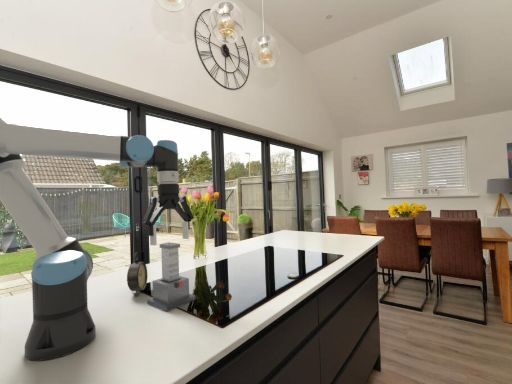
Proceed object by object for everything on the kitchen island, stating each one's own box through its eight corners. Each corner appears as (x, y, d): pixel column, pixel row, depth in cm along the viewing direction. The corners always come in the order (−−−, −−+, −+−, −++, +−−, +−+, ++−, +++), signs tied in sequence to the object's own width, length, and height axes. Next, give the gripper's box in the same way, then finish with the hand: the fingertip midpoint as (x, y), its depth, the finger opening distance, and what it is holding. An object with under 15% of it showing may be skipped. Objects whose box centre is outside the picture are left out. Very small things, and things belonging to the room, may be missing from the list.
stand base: (166, 311, 87) (166, 287, 87) (147, 303, 95) (146, 281, 95) (195, 299, 97) (194, 277, 97) (175, 293, 104) (174, 272, 104)
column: (171, 301, 92) (169, 246, 92) (160, 297, 96) (159, 244, 96) (181, 296, 96) (180, 243, 96) (171, 293, 100) (169, 242, 100)
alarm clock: (139, 297, 101) (138, 255, 101) (124, 298, 101) (123, 255, 101) (148, 287, 112) (147, 249, 112) (135, 288, 112) (134, 249, 112)
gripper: (141, 182, 84) (143, 249, 84) (201, 183, 104) (203, 237, 104) (129, 183, 89) (131, 247, 89) (189, 184, 109) (191, 235, 108)
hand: (170, 241), depth 96 cm, fingers open, 13 cm apart
